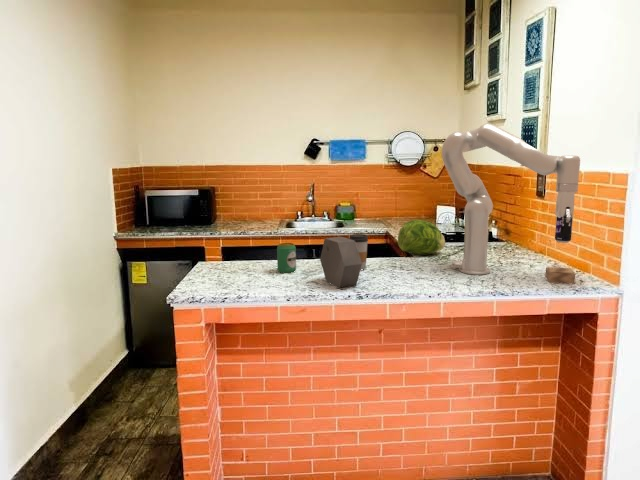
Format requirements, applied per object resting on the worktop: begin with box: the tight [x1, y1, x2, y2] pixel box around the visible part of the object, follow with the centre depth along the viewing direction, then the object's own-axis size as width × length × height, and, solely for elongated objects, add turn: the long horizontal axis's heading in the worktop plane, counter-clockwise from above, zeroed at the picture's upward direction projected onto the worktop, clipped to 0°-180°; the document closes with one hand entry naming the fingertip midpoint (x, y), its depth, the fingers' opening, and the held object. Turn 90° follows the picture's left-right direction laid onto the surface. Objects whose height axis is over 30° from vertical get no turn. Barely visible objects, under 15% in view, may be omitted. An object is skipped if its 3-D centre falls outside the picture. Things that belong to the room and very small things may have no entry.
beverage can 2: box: [554, 214, 574, 244], centre depth 190 cm, size 6×6×12 cm
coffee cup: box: [348, 233, 369, 270], centre depth 213 cm, size 8×8×15 cm
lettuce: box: [397, 219, 446, 256], centre depth 245 cm, size 18×23×19 cm
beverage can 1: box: [276, 242, 297, 274], centre depth 210 cm, size 8×8×12 cm
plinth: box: [544, 266, 576, 285], centre depth 193 cm, size 9×9×4 cm
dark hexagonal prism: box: [319, 236, 362, 289], centre depth 190 cm, size 17×8×21 cm
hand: (563, 234), depth 190 cm, fingers closed on beverage can 2, 5 cm apart
